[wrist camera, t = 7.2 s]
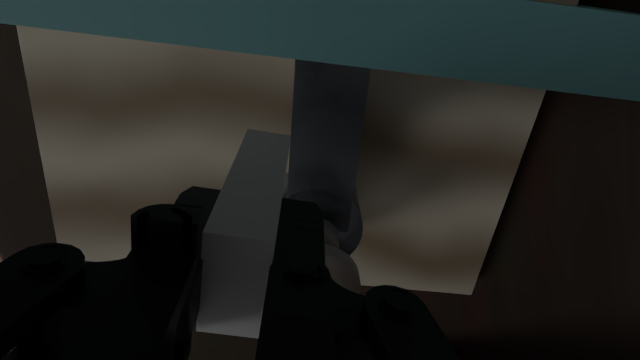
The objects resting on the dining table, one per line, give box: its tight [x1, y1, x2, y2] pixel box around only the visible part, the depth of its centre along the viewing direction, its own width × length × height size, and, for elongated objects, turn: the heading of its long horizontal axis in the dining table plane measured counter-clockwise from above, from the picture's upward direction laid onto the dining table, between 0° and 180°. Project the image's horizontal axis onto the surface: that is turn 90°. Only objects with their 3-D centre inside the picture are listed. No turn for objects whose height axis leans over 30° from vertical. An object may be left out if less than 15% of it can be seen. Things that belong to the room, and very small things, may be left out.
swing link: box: [282, 59, 371, 256], centre depth 19 cm, size 15×4×3 cm, turn 175°
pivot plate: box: [16, 0, 579, 295], centre depth 19 cm, size 20×25×9 cm
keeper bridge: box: [0, 0, 640, 101], centre depth 17 cm, size 2×26×8 cm, turn 83°
